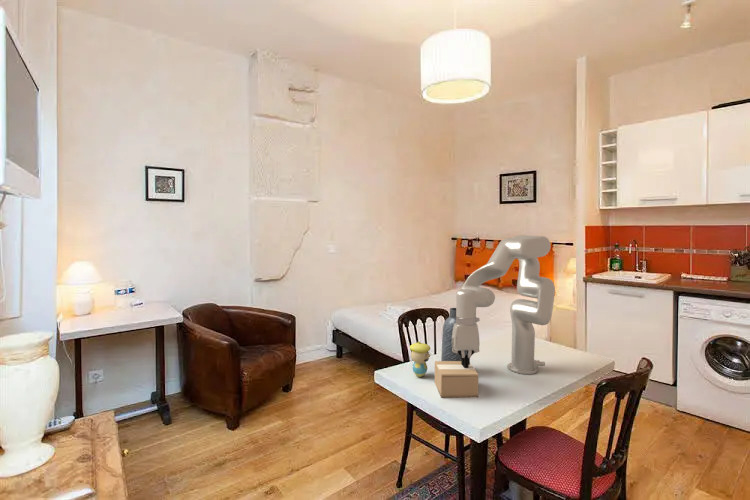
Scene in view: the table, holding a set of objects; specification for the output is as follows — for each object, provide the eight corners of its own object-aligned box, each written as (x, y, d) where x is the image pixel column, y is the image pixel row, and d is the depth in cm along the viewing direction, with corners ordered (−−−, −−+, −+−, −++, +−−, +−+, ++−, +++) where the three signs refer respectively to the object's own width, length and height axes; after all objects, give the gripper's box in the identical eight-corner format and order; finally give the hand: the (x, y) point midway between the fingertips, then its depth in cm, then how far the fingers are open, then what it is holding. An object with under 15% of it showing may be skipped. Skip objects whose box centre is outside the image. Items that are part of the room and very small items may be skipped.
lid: (468, 363, 161) (468, 360, 161) (478, 376, 147) (478, 373, 147) (434, 362, 161) (434, 360, 161) (441, 376, 147) (441, 373, 147)
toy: (425, 381, 163) (426, 346, 162) (406, 377, 168) (406, 342, 166) (433, 375, 169) (433, 341, 168) (414, 371, 174) (414, 338, 173)
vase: (474, 371, 173) (475, 308, 171) (459, 379, 164) (460, 313, 162) (450, 365, 181) (451, 304, 179) (435, 372, 173) (435, 309, 171)
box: (468, 382, 162) (468, 363, 161) (478, 397, 148) (478, 376, 147) (434, 382, 162) (434, 363, 161) (441, 397, 148) (441, 377, 147)
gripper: (482, 318, 157) (481, 363, 158) (445, 318, 156) (444, 363, 158) (487, 323, 149) (487, 370, 151) (449, 323, 149) (448, 370, 150)
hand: (465, 366), depth 154 cm, fingers closed
